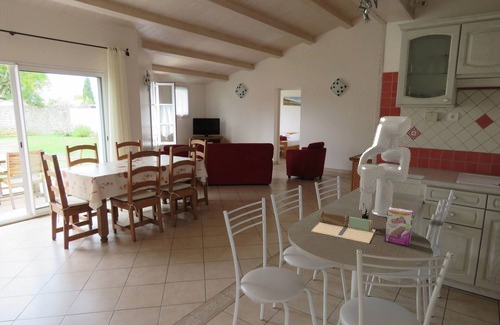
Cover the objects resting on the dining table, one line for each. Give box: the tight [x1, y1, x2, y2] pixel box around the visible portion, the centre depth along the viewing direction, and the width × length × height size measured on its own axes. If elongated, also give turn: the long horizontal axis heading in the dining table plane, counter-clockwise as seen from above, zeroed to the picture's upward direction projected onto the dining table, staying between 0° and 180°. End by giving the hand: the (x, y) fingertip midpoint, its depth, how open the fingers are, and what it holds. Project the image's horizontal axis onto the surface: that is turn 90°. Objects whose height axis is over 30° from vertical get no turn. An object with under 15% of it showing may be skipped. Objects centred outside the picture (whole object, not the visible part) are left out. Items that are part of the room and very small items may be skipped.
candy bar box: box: [384, 207, 414, 247], centre depth 148 cm, size 11×5×16 cm, turn 59°
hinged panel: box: [348, 216, 374, 231], centre depth 164 cm, size 2×12×6 cm, turn 60°
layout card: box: [310, 221, 376, 244], centre depth 163 cm, size 20×29×1 cm
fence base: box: [319, 210, 350, 227], centre depth 171 cm, size 2×16×7 cm, turn 60°
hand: (364, 221), depth 169 cm, fingers closed
